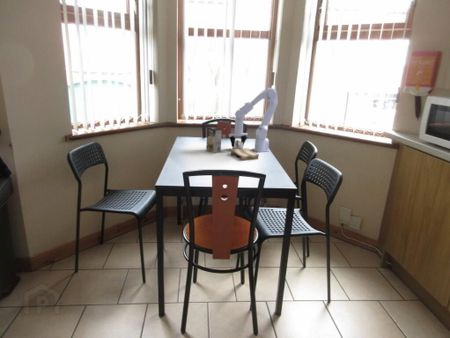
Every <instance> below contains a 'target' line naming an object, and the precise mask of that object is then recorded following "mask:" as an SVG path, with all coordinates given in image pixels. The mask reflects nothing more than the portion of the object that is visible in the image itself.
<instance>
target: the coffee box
mask: <svg viewBox="0 0 450 338" xmlns="http://www.w3.org/2000/svg"><path fill="white" fill-rule="evenodd" d="M222 133H223V128H219V127H215V126H209V127H206V144H205V146H206V150H205V151H208V152H211V153H212V154H215V153H221V152H222V151H221V150H222V135H223V134H222Z"/></svg>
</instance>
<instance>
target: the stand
mask: <svg viewBox="0 0 450 338" xmlns="http://www.w3.org/2000/svg"><path fill="white" fill-rule="evenodd" d="M230 155H231V156H235V155H237V156H239V157H240V160H241V161H249V160H250V161H251V160H259V156H260V155H259V154H258V152H257V153H256V151H252V150H250V149H248V148H243V149H232V148H231V149H230Z"/></svg>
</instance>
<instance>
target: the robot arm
mask: <svg viewBox="0 0 450 338" xmlns="http://www.w3.org/2000/svg"><path fill="white" fill-rule="evenodd" d="M263 99H264V100H265V99H267V100H268V101H269V105H268V107H267V108H266V111H265V114H264V115H263V119H262V121H261V124H259V126H258V128H257V129H256V130H255V131H254V132H255V135H256V136H255V140H254V148H251V149H252V150H253V151H254V152H257V153H261V152H263V153H264V152H269V146H270V140H269V139H268V136H267V134H268V133H267V132H268V130H269V125H270V123H271V120H272V119H273V116H274V113H275V111H276V109H277V106H278V103H279V99H278V92H277V90H276V89H274V88H271V87H266V88H265V89H264V90H262V91H260V93H259V94H258V95H256V97H255V98H253V99H252V100H251V101H250V102H245V103H244V105H243V106H242V107H239V108H238V110H236V111H235V113H234V115H235V122H234V133H228V138H229V140H230V144H231V147H234V142H235V141H236V140H237V139H236V137H240V142H242V143H243V146H244V144H245V142H246V140H247V139H248V136H249V135H248V134H249V133H247V132H243V131H244V119H245V116H246V115H247V114H249V113H250V112H251V111H252V110H253V109H254V106H255V105H257V104H258V103H259V102H261V101H262V100H263ZM252 150H251V151H252Z"/></svg>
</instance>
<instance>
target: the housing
mask: <svg viewBox="0 0 450 338" xmlns="http://www.w3.org/2000/svg"><path fill="white" fill-rule="evenodd" d="M231 147H232V146H231ZM232 149H244V145H243V143H242V142H241V140H238V139H235V142H234V147H232V148H231V150H232Z"/></svg>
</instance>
